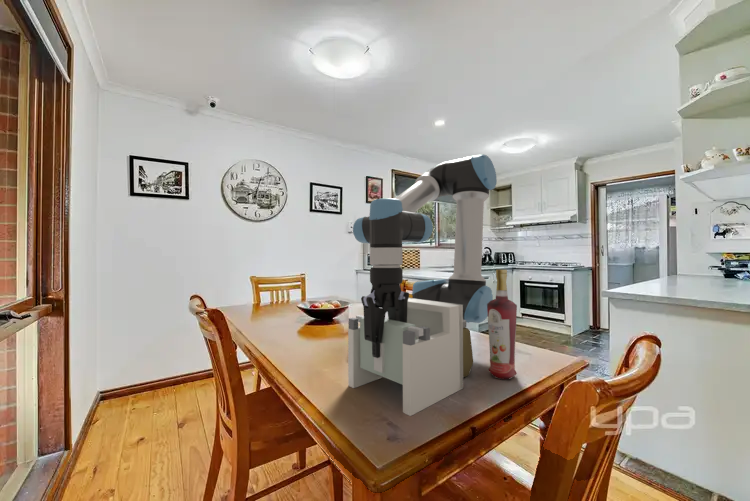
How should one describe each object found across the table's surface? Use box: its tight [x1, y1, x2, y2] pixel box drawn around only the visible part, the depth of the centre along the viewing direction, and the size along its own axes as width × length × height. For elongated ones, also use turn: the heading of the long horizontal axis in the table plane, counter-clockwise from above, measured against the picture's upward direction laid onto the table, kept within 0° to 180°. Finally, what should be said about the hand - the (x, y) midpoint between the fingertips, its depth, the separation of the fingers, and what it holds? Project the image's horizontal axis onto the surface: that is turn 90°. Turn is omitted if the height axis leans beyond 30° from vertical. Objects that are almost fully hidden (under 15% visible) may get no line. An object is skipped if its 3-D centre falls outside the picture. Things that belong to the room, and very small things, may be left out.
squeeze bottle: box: [463, 320, 474, 378], centre depth 86 cm, size 8×8×18 cm
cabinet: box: [347, 297, 464, 417], centre depth 77 cm, size 19×20×20 cm
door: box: [355, 314, 423, 386], centre depth 73 cm, size 4×20×12 cm, turn 43°
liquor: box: [487, 269, 518, 380], centre depth 84 cm, size 7×7×28 cm
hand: (386, 368), depth 73 cm, fingers closed on door, 4 cm apart
